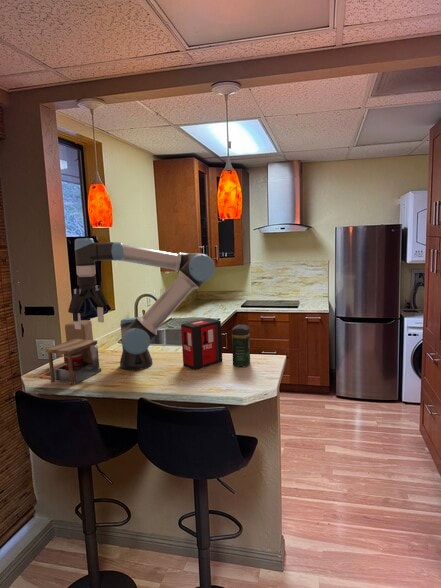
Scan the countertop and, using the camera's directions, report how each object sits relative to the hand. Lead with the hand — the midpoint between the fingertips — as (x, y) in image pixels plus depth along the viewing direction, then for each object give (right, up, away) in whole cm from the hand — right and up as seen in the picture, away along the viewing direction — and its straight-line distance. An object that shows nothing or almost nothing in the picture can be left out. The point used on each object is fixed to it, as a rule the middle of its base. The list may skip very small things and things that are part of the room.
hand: (89, 325), depth 169 cm
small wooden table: (-9, -24, +8) cm, 26 cm away
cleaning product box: (+47, -20, +19) cm, 55 cm away
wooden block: (-14, -21, +32) cm, 40 cm away
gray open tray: (-5, -23, +6) cm, 25 cm away
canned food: (-9, -24, +8) cm, 27 cm away
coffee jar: (+65, -20, +16) cm, 70 cm away
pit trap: (-19, -23, +13) cm, 33 cm away
